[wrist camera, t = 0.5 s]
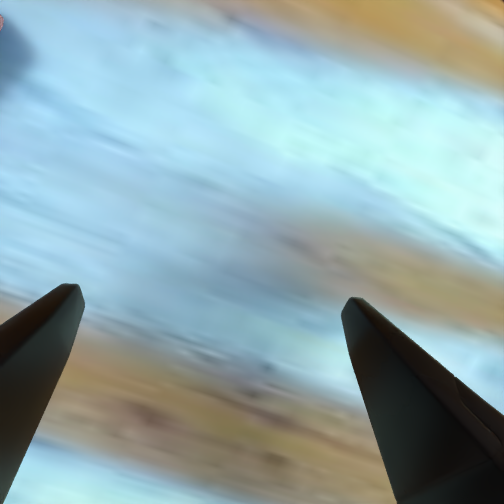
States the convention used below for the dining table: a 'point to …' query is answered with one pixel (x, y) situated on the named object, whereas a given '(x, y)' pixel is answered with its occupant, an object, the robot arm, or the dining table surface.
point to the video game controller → (1, 22)
